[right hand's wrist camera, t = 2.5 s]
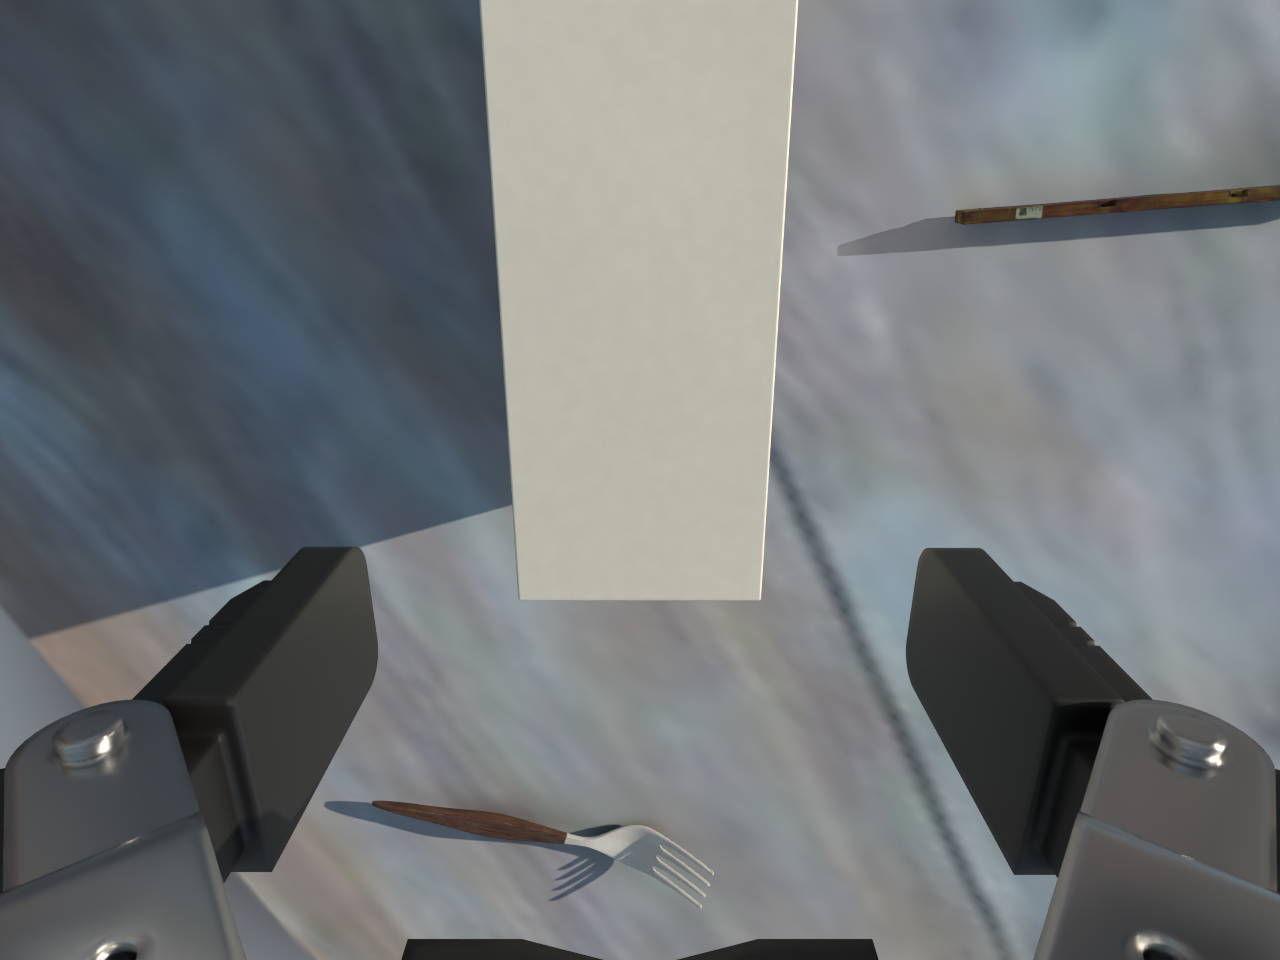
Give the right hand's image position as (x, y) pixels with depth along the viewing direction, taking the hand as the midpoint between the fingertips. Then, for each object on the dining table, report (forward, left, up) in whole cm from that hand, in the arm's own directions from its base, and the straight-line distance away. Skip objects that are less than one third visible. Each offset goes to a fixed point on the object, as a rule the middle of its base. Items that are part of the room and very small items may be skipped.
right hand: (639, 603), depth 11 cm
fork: (-23, -1, -19) cm, 30 cm away
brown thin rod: (+10, -16, -19) cm, 27 cm away
